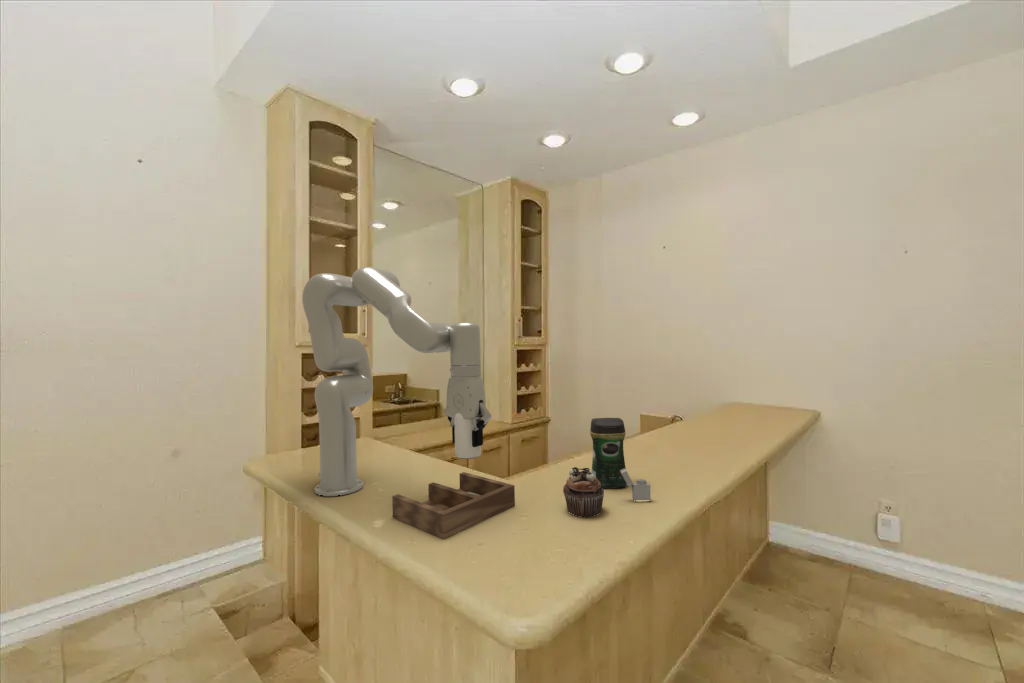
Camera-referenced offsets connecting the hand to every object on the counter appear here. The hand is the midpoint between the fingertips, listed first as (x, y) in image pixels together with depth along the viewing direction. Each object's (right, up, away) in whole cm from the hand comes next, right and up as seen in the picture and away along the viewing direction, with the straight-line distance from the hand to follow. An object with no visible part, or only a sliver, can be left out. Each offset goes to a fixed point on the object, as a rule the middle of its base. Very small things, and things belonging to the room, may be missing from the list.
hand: (467, 443), depth 109 cm
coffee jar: (+38, -15, +12) cm, 42 cm away
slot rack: (-2, -15, -5) cm, 16 cm away
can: (0, -3, 0) cm, 3 cm away
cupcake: (+28, -15, -6) cm, 32 cm away
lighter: (+42, -15, 0) cm, 44 cm away
